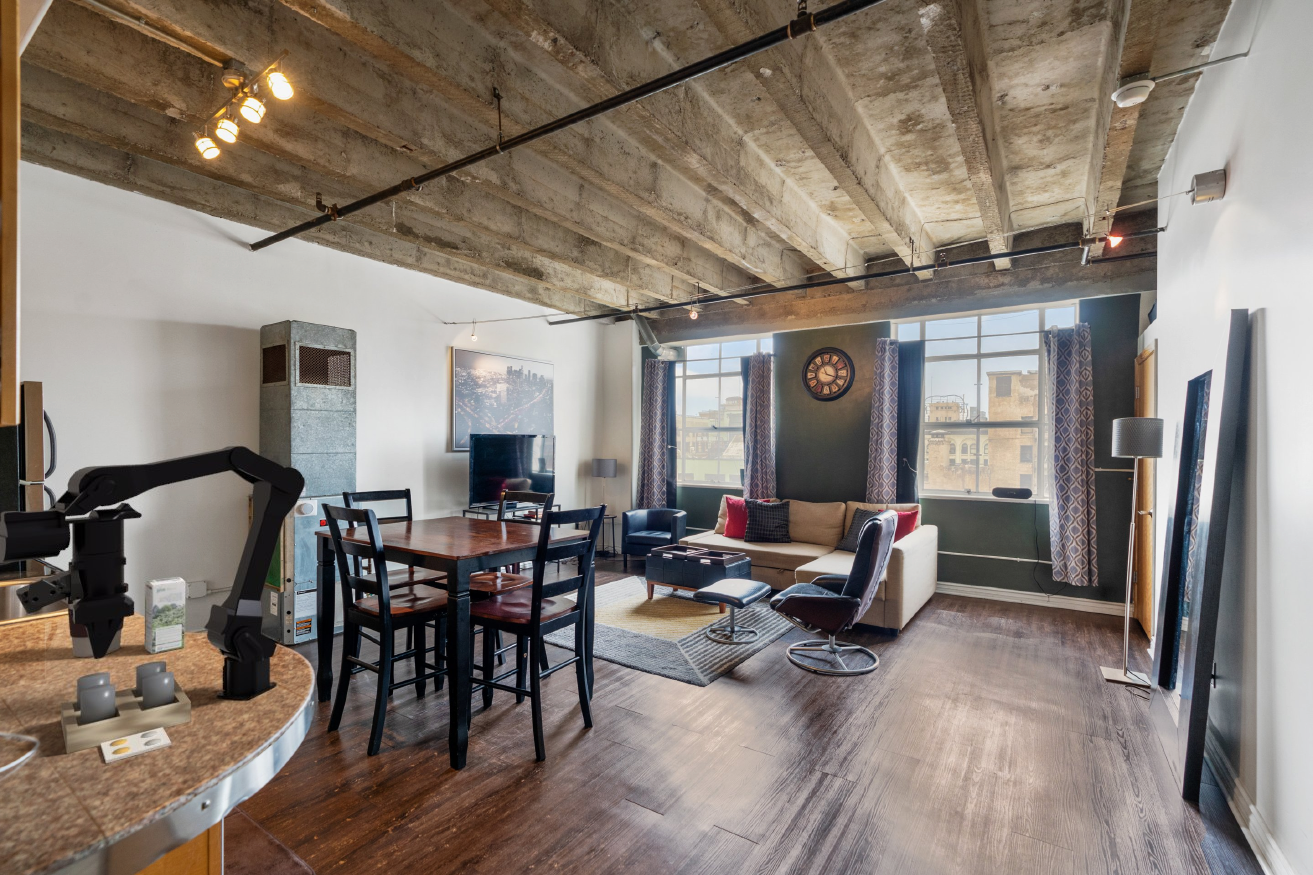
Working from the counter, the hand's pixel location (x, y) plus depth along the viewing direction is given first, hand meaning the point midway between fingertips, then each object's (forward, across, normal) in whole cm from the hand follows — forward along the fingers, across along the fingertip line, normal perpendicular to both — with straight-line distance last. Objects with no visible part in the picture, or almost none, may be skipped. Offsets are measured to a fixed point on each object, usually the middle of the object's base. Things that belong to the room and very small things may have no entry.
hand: (99, 657), depth 92 cm
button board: (+12, -4, +3) cm, 12 cm away
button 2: (+9, 0, 0) cm, 9 cm away
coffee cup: (+12, -51, +3) cm, 52 cm away
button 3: (+9, -7, +7) cm, 13 cm away
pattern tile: (+12, +8, +3) cm, 14 cm away
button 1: (+9, -7, 0) cm, 11 cm away
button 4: (+9, 0, +7) cm, 11 cm away
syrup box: (+12, -43, +14) cm, 47 cm away
